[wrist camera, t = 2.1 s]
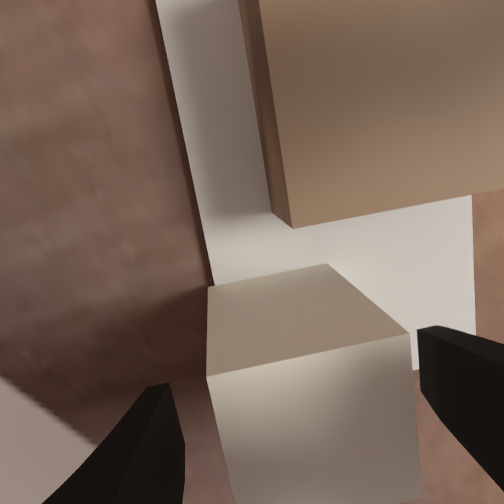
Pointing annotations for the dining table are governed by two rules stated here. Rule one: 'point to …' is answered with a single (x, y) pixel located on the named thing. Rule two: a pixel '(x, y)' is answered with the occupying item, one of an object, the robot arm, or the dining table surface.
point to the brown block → (375, 102)
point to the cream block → (311, 391)
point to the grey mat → (258, 202)
